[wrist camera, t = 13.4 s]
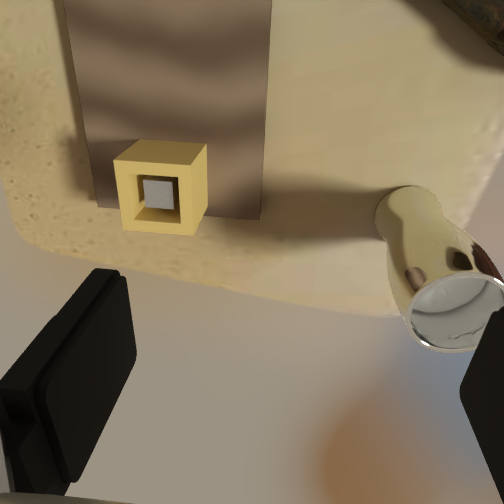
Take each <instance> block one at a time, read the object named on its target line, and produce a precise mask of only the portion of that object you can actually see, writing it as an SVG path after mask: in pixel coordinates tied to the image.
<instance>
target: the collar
mask: <svg viewBox="0 0 504 504" xmlns="http://www.w3.org/2000/svg"><path fill="white" fill-rule="evenodd" d="M113 162H114V169H115V176H116V183H117V190H118V197H119V204H120V211H121V218H122V225H123V230H133V231H145V232H157V233H169V234H181V235H194V233H195V231H196V229H197V227H198V225H199V223H200V221H201V219H202V217H203V215H204V213H205V211H206V209H207V207H208V192H207V145H206V144H205V143H190V142H175V141H160V140H145V139H140V140H138V141H137V142H136V143H135V144H133V145H132V146H131V147H129V148H128V149H127V150H125V151H124V152H123V153H122V154H120V155H119V156H118V157H116V158H115V159H114V160H113ZM147 175H156V176H170V177H178V183H179V200H180V201H179V202H178V204H177V205H176V207H175V208H174V209H162V208H150V207H146V205H145V196H144V186H143V179H144V178H145V177H146V176H147Z"/></svg>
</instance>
